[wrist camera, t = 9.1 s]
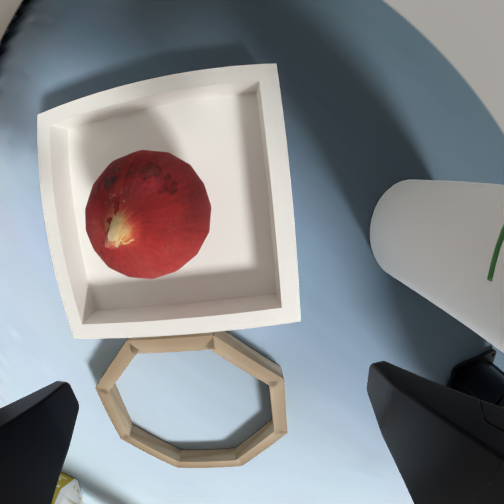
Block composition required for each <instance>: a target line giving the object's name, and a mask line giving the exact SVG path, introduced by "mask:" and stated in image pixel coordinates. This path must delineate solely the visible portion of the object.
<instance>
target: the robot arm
mask: <svg viewBox="0 0 504 504" xmlns="http://www.w3.org/2000/svg"><path fill="white" fill-rule="evenodd" d="M495 355H496V351H495V350H494V349H492V350H490V351H487V352H485V353H483V354H481V355H479V356H477V357H475V358H472V359H470V360H468V361H466V362H463V363H461V364H459V365H457V366H456V367H455V368H454V369H453V372H452V376H451V379H450V382H449V386H448V387H446V386H443V385H441V384H438V383H436V382H433V381H431V380H428V379H426V378H424V377H421V376H419V375H416V374H414V373H412V372H409V371H407V370H404V369H402V368H400V367H397V366H395V365H393V364H390V363H388V362H386V361H381V362H377V363H373V364H371V365H370V368H369V375H368V383H367V392H368V395H369V398H370V401H371V404H372V407H373V410H374V413H375V416H376V419H377V422H378V425H379V428H380V430H381V433H382V436H383V438H384V440H385V442H386V444H387V446H388V448H389V450H390V453H391V455H392V457H393V459H394V461H395V463H396V465H397V467H398V469H399V472H400V474H401V476H402V478H403V480H404V482H405V484H406V487H407V489H408V491H409V493H410V495H411V498H412V500H413V502H414V504H504V372H503V371H502V370H500V369H499V368H498V367H497V366H495V365H494V364H493V361H494V358H495ZM78 410H79V404H78V401H77V399H76V397H75V394H74V392H73V390H72V388H71V386H70V384H69V383H67V382H62V381H56V382H54V383H52V384H50V385H48V386H46V387H44V388H42V389H40V390H38V391H36V392H34V393H32V394H30V395H28V396H26V397H23V398H21V399H19V400H17V401H15V402H13V403H11V404H9V405H7V406H5V407H3V408H0V504H52V500H53V497H54V493H55V490H56V486H57V483H58V480H59V477H60V473H61V470H62V467H63V464H64V461H65V458H66V455H67V452H68V449H69V446H70V442H71V438H72V434H73V430H74V426H75V422H76V418H77V414H78Z"/></svg>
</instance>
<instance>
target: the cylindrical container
mask: <svg viewBox="0 0 504 504" xmlns="http://www.w3.org/2000/svg"><path fill="white" fill-rule="evenodd" d="M370 243H371V248H372V251H373V254H374V257H375V259H376V261H377V262H378V264H379V266H380V267H381V268H382V269H383V270H384V271H385V272H386V273H388V274H389V275H391V276H392V277H394V278H395V279H397V280H399V281H400V282H402V283H403V284H405V285H406V286H408V287H409V288H411V289H412V290H414V291H415V292H417V293H418V294H420V295H421V296H423V297H424V298H426V299H427V300H429V301H430V302H432V303H433V304H435V305H436V306H438V307H439V308H441V309H442V310H444V311H445V312H447V313H448V314H450V315H451V316H453V317H454V318H455V319H457V320H458V321H460V322H461V323H463V324H464V325H465V326H467V327H468V328H470V329H471V330H473V331H474V332H475V333H477V334H478V335H480V336H481V337H482V338H484V339H485V340H486V341H488V342H489V343H491V344H492V345H493V346H495V347H496V348H497V349H499V350H500V351H501V352H503V353H504V185H499V184H487V183H474V182H460V181H441V180H415V179H408V180H404V181H400V182H398V183H396V184H394V185H393V186H392V187H390V188H389V189H388V190H387V191H386V192H385V193H384V194H383V195H382V197H381V198H380V199H379V201H378V203H377V205H376V207H375V209H374V212H373V215H372V218H371V225H370Z"/></svg>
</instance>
